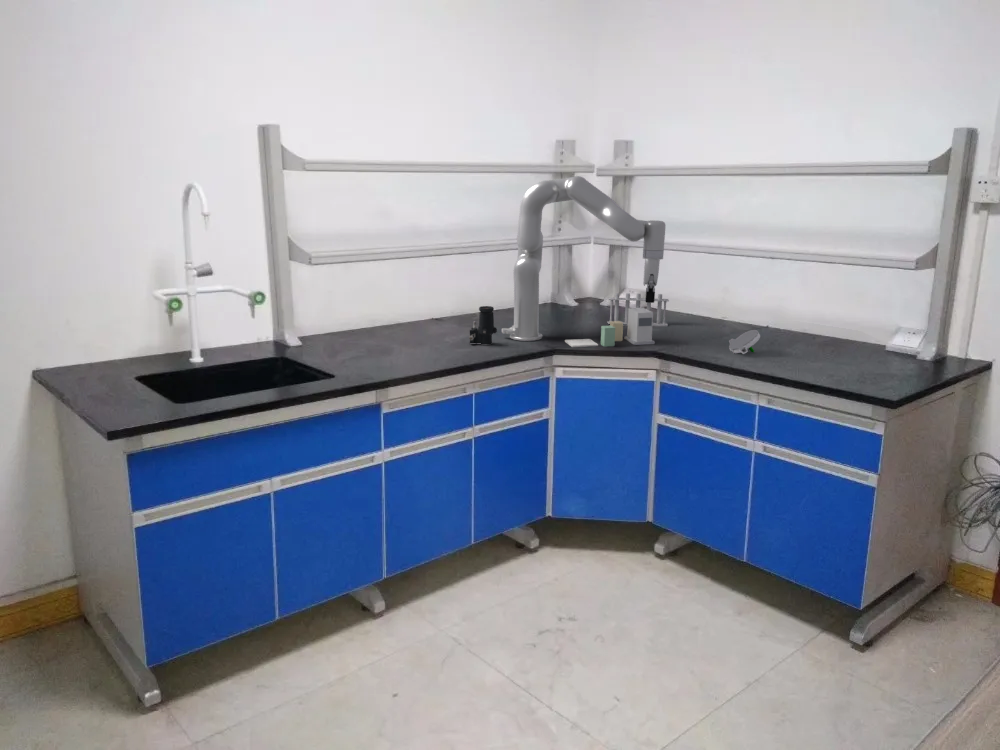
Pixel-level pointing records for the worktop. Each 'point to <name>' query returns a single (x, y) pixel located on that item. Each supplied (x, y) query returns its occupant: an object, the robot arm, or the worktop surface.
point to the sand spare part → (617, 329)
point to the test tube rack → (638, 307)
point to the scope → (483, 326)
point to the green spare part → (607, 336)
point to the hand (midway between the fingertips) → (649, 300)
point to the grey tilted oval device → (744, 342)
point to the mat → (581, 343)
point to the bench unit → (639, 326)
